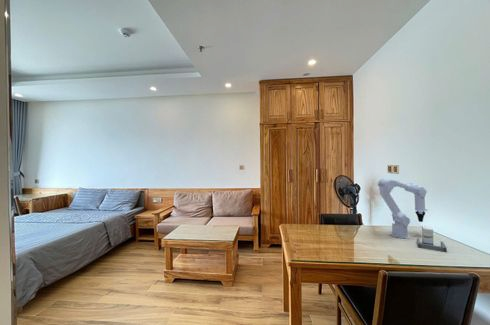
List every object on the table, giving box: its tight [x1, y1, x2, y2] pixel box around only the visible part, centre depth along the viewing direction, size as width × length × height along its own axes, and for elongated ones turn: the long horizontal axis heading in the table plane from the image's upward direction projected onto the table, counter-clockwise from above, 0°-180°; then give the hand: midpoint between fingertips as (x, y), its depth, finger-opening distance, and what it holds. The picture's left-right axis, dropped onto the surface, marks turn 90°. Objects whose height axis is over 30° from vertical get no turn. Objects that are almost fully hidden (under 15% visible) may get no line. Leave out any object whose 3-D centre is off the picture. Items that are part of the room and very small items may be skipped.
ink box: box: [421, 224, 434, 245], centre depth 140 cm, size 8×5×12 cm, turn 147°
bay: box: [416, 237, 448, 253], centre depth 138 cm, size 13×12×2 cm
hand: (420, 221), depth 157 cm, fingers closed
